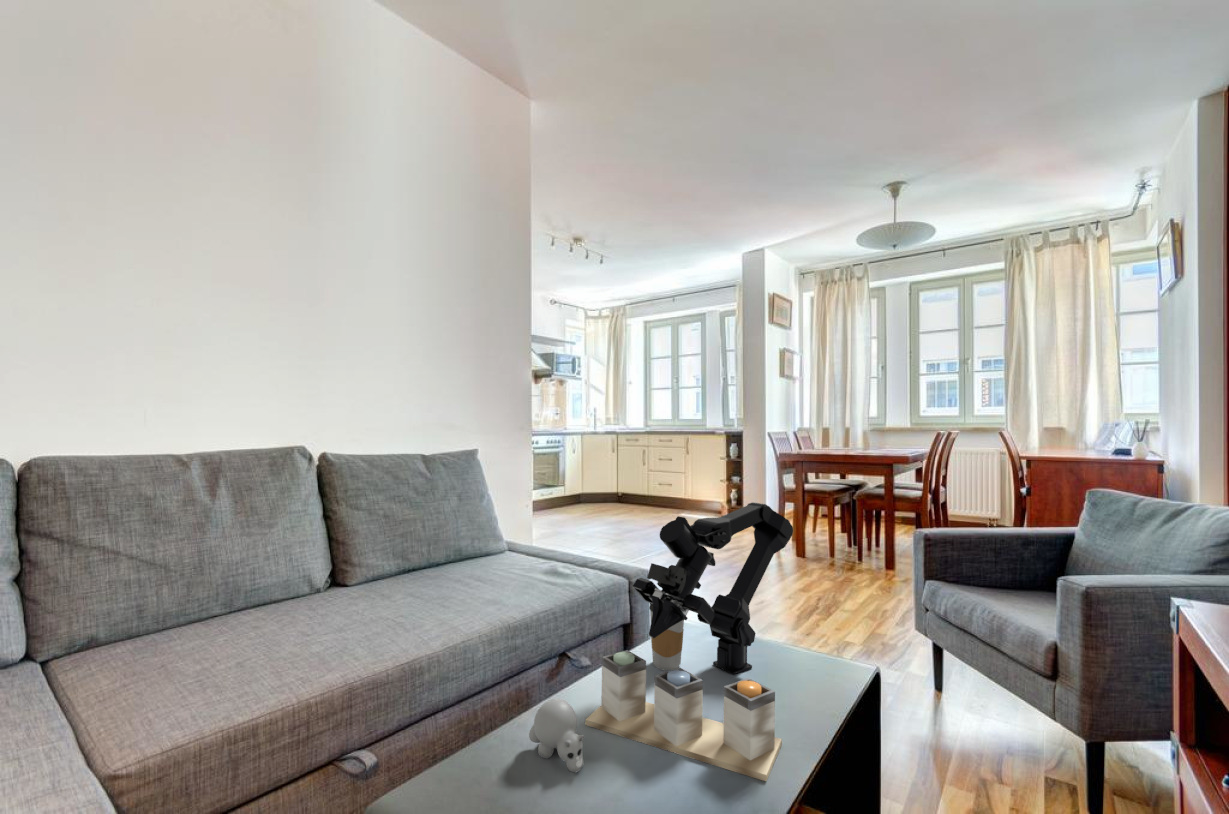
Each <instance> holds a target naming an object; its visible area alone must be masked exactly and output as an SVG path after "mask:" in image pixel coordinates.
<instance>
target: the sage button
mask: <svg viewBox="0 0 1229 814" xmlns="http://www.w3.org/2000/svg"><path fill="white" fill-rule="evenodd" d="M615 653H616V654H615ZM615 653H613V654H614V659H613V662H615V663H616V664H618V665H619V666H625V665H628V664H631V663H634V659H635V656H634V655H633V654H634V653H633V652H632V653H633V654H632V653H628V652H622V651H619V653H618V652H615Z"/></svg>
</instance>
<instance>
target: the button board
mask: <svg viewBox="0 0 1229 814" xmlns="http://www.w3.org/2000/svg"><path fill="white" fill-rule="evenodd" d="M619 652H620V651H619ZM619 652H615V653H611V654H609V655H604V656H602V657H601V700H600V701H601V705H600V706H599V707H597V708H596V709H595V710H594V711H593V712H591V714H590V715H589V716H588V717H586V719H584V720H585V721H584V722H585V726H587V727H591V728H594V729H598V730H601V731H603V732H607V733H609V734H613V735H616V736H620V737H623V738H625V739H629V740H632V741H636V742H639V743H641V742H642V743H641V744H645V745H648V746H651V747H654V746H655V748H658V749H662V750H663V751H667V750H668V751H667V752H671V753H673V752H674V753H675V754H677V755H680V756H683V757H687V758H690V759H693V760H697V761H699V762H703V763H705V764H709V765H712V766H715V767H718V768H721V769H725V770H728V771H731V772H735V773H737V774H741V775H744V776H748V777H751V778H754V779H757V780H760V781H764V782H767V781H768V779H769V776H770V774H771V772H772V770H773V767H774V765H775V762H776V759H777V757H778V754H779V753H780V751H781V748H782V746H783V739H782V738H779V737H776V735H775V734H776V733H775V729H776V727H775V726H776V691H775V690H773V689H772V688H769V687H767V686H766V685H763V684H762V683H759V682H757V681H756V680H753V679H751V678H749V677H746V678H744V679H741V680H738V681H736V682H733V683H730V684H726V685H724V686H723V722H719V721H717V720H713V719H709V718H706V717H704V716H703V712H704V711H703V709H704V708H703V704H704V703H703V701H704V698H703V696H704V695H703V694H704V691H703V690H704V689H703V688H704V680H703V679H701V678H700V677H698V676H696V675H694V674H692V673H691V672H689V671H687V670H685V669H684V668H681V667H678V668H677V669H674V670H681V671H685V672H687V673H689V674H690V683H687V684H684V685H681V686H678V687H677V686H675V685H673V684H672V683H670V682H668V681H667V674H668V672H670V671H673V670H667V671H664V672H663V673H662V672H661V673H659V674H656V675H654V699H653V700H654V703H652V702H647V701H646V697H647V696H646V695H647V694H646V693H647V692H646V691H647V689H646V688H647V683H646V682H647V660H645V659H644V658H642V657H640V656H638V655H637V654H635V653H633V652H631V651H630V650H628V649H627V650H623V651H621V652H628V653H632V654H633V655H634V656H635V659H634V663H631V664H628V665H625V666H619V665H618V664H616V663H615V662H613V659H614V654H616V653H619ZM740 681H753V682H756V683H758V684H760V685H761V695H758V696H756V697H753V698H751V699H750V698H749V697H747V696H745V695H743V694H741V693H739V692H737V684H738V683H739V682H740Z"/></svg>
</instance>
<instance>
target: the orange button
mask: <svg viewBox="0 0 1229 814" xmlns="http://www.w3.org/2000/svg"><path fill="white" fill-rule="evenodd" d="M739 681H740V680H739ZM753 681H754V680H753ZM753 681H740V682H739V683H738V684H737V692H739V693H741V694H743V695H745V696H747V697H749V698H750V699H751V698H753V697H756V696H758V695H761V685H762V684H761V683H759V682H757V681H755V682H753ZM756 682H757V683H756ZM758 683H759V684H758ZM760 684H761V685H760Z"/></svg>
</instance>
